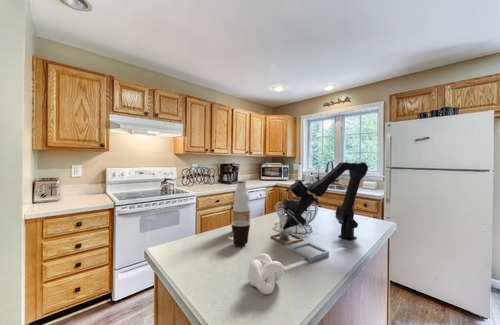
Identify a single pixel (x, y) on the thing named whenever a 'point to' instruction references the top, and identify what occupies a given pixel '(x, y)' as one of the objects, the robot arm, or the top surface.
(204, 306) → the top surface
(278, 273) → the white knot sculpture
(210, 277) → the top surface
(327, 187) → the robot arm
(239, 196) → the fruit juice
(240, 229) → the coffee mug
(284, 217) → the scoop cup
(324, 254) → the grey tray
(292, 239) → the walnut tray
